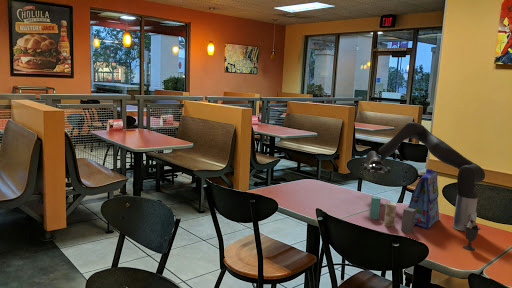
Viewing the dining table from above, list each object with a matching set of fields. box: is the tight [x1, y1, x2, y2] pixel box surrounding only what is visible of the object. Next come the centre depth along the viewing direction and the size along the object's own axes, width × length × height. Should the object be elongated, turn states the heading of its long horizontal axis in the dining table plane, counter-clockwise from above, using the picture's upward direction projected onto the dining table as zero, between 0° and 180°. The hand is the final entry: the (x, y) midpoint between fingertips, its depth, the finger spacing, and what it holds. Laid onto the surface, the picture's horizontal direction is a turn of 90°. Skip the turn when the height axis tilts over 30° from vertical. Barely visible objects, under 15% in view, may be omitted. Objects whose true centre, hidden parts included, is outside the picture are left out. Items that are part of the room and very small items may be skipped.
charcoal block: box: [400, 207, 416, 234], centre depth 201 cm, size 4×4×11 cm
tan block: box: [383, 201, 397, 227], centre depth 208 cm, size 4×4×11 cm
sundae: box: [462, 215, 481, 251], centre depth 183 cm, size 7×7×15 cm
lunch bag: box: [408, 168, 440, 230], centre depth 215 cm, size 22×14×29 cm, turn 143°
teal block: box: [369, 195, 381, 220], centre depth 218 cm, size 4×4×11 cm
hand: (377, 171), depth 225 cm, fingers open, 8 cm apart
